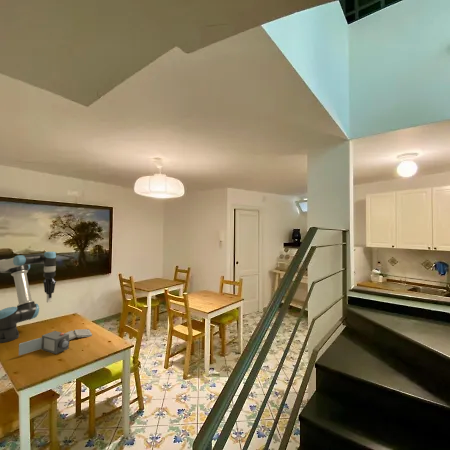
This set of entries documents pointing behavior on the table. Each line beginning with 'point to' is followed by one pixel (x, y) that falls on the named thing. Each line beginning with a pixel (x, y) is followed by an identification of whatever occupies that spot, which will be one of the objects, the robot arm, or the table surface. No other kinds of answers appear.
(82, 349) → the table surface
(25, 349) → the door
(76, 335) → the gadget
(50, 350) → the cam body
